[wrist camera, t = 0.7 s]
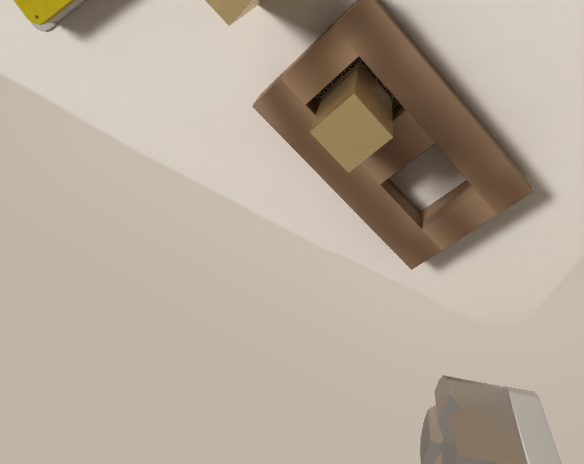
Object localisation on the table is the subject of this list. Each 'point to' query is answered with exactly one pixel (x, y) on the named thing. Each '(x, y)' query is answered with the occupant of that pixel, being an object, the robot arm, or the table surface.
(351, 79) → the seated billet
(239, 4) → the block
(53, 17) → the emergency button
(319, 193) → the table surface
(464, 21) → the table surface
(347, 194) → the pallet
